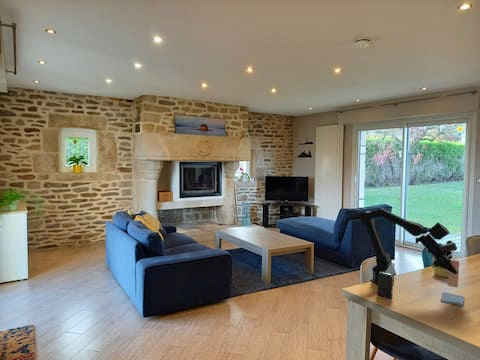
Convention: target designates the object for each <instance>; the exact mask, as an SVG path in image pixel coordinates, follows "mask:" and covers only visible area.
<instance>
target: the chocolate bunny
mask: <svg viewBox="0 0 480 360" xmlns="http://www.w3.org/2000/svg"><path fill="white" fill-rule="evenodd" d="M449 256H451V254H450V255H449ZM434 258H435V257H434V256H433V258H432V260H431V262H432V264H433V265H431V268H433V271H434V272H433V274H434V276H438V277H443V278H448V279H449V271H448V270H446V269H444V268H442V267H439V266H438V267H436V266H435V265H434V260H435V259H434Z"/></svg>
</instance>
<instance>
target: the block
mask: <svg viewBox="0 0 480 360" xmlns="http://www.w3.org/2000/svg"><path fill="white" fill-rule="evenodd" d="M450 262H451V264H452V265H453V267H454V268H455V270H456V271H457V274H454V273H452V272H450V271H449V278H448V280H447V281H448V282H447V283H448V284H447V286H448V287H452V288H456V289H457V288H459V274H460V273H459V272H460V259H456V258H453V257H452V258H451V261H450Z"/></svg>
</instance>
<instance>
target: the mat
mask: <svg viewBox="0 0 480 360" xmlns="http://www.w3.org/2000/svg"><path fill="white" fill-rule="evenodd" d="M440 302H441V303H446V304H449V305H451V304H452V305H455V306H459V307H464V302H465V296H464V295H460V294H455V293H451V292H445V291H442V293H441V297H440Z"/></svg>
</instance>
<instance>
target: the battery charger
mask: <svg viewBox="0 0 480 360" xmlns="http://www.w3.org/2000/svg"><path fill="white" fill-rule="evenodd" d="M386 272H387V271H386ZM386 272H380V273H379V274H378V285H377V292H376V295H378V296H380V297H384V298H387V299H393V296H394V295H393V289H394V285H395V276H394V274H392V273H391V272H387V273H386Z"/></svg>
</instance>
